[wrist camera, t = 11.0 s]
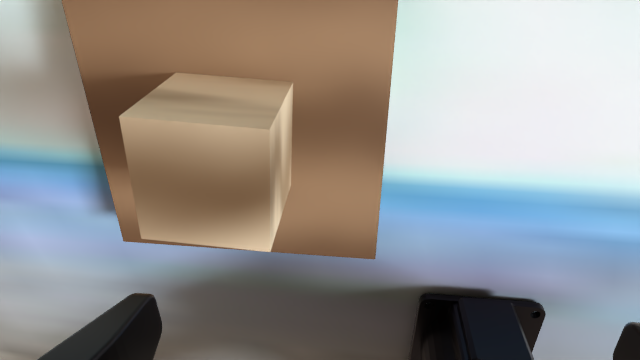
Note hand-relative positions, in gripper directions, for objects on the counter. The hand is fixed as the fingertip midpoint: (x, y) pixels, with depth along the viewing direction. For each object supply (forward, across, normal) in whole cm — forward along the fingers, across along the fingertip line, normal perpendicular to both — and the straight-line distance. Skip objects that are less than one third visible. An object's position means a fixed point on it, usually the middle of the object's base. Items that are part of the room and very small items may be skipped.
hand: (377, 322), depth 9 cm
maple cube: (+10, +6, 0) cm, 11 cm away
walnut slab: (+13, +6, 0) cm, 14 cm away
